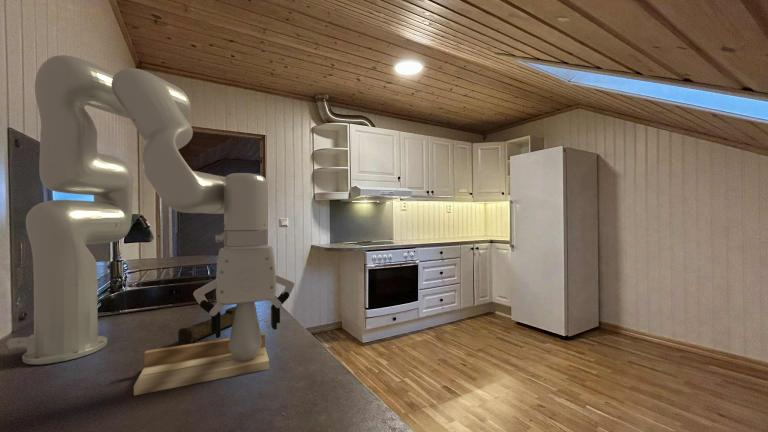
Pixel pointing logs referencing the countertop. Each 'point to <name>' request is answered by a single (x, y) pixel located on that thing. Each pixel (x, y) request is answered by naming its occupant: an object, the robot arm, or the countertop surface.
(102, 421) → the countertop surface
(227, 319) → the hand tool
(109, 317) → the countertop surface
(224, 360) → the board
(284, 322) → the countertop surface
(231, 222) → the robot arm
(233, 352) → the salt shaker
